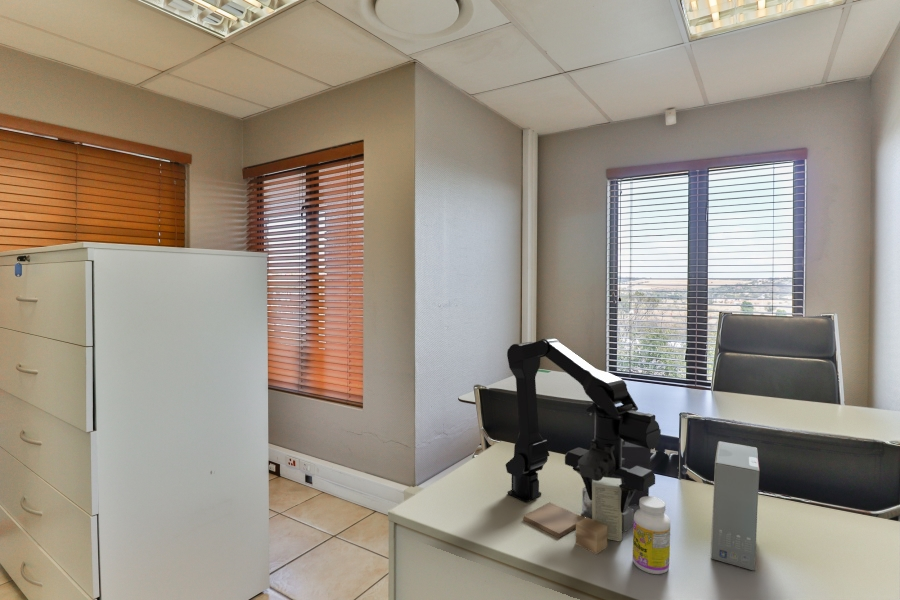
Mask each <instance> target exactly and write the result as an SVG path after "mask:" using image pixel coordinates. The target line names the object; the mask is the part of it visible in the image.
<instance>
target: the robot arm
mask: <svg viewBox="0 0 900 600" xmlns="http://www.w3.org/2000/svg"><path fill="white" fill-rule="evenodd" d="M506 356H507V357H506V358H507V362H508V367H509V370H510V372H511V373H512V374H513V377H514V378H515V385H516V386H515V387H516V400H517V417H518V429H519V430H518V432H519V433H518V435H517V436H518V437H517V439H516V442H515V443H514V448H513V457H512V458H511V459H510V460H509V461H508V462H506V463H505V469H506V473H508V474H509V475H510V476H511V489H510V490H507V495H509V496H512V497H513V498H516V499H517V500H520V501H522V502H524V503H528V502H530V501H532V500H534V499H536V498H539V497H540V496H542V492H541V491H540V480H539V473H538V472H539V471H542V470H543V467H544V465H546V463H547V462H548V459H549V458H548V457H550V453H549V441H548V440H547V439H544V438H543V437H542V435H541V434H540V429H539V416H538V415H539V413H538V400H537V387H536V384H537V383H536V377H537V374H538V372H539V369H540V366H541V359H542V358H547V359H548V360H549V361H550V362H552V363H553V364H554V365H556V366H557V367H558V368H560V369H561V370H562V371H563V372H565V373H566V374H568V375H569V376H570V377H571V378H572V379H574V380H576V382H578V383H579V384H580V385H581V387H582V389H583V390H584V394H586V395H587V397H588V398H589V399H590V400H591V401H592V404H591V405H589V406H588V407H586V409H585V411H586V412H587V413H589V414H590V413H591V414H593V415H594V438H593V439H591V441H590V446H589V449H587V448H584V447H583V448H582V447H575V448H574V449H571V450H569V451H567V452H566V453H565V455H564V464H565V465H566V466H569V467H572V470H573V471H574V472H576V473H577V474H578V475H579V476H580V477H581V479H582V482H583V484H584V487H586V490H587V493H588V496H589V499H590V500H592V479H593V480H595V481H600V480H601V479H602V478H603V476H607V477H610V476H611V475H612V474H615V475H618V476H621V477H624V483H622V484H621V485H619V487H620V489H621V491H622V492H621V513H624V512H625V511H626V509H627V507H629V506H630V505H629V503H630V501H631V499H632V497H633V495H634V493H635V491H636V490H638V491H645V490H646V489H648V488H649V489H650V488H651V487H653V486H655V484H656V475H655V473H654V471H653V470H651V469H650V468H649V469H646V468H642V467H639V466H635V467H633V468H631V469H627V468H624V467H622V464H624V463H625V459H624V458H622V446H623V445H625V442H628V443H631V444H635V445H638V446H641V447H645V448H648V449H651V450H654V449H655V448H657V447H658V444H659V442H660V439H661V432H662V429H661V427H660V425H659V422H658V421H656V415H655V414H653V413H644V412H640V411H639V408H638V405H637V404H636V403H635V401H634V399H633V397H632V396H631V394H630V392H629V391H628V388H627V386H628V384H627V383H626V382H625V381H624V380H623V379H622V378H620V377H619V376H616V375H614V374H613V373H610V372H607V371H605V370H601V369H598V368H595V367H594V366H593V365H591V364H589V362H587V361H585V360H584V359H583V358H581V357H580V356H578V355H577V354H575V352H573V351H572V350H570V349H569V348H568V347H566V346H565V345H563V344H562V343H561V342H560V341H559V340H558V339H556V338H555V337H549V338H541V339H540V340H537V341H534V342H532V341H529V342H520V343H513V344H511V345H510V346H509V348H508V349H507V352H506ZM618 404H621V405H618ZM616 405H617V406H616Z"/></svg>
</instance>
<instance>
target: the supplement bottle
mask: <svg viewBox="0 0 900 600" xmlns="http://www.w3.org/2000/svg"><path fill="white" fill-rule="evenodd" d="M638 507H639V509H637V510H636V511H635V512H634V513H633V527H632V528H633V530H632V532H633V534H632V561H633V564H634V565H635V566H636V567H637V568H638V569H640V570H641V571H643V572H645V573H647V574H652V575H661V574H662V575H663V574H665V573H667V572H668V571H669V568H670V555H671V554H670V553H671V552H670V550H671V549H670V548H671V519H670V517H669V516H668V515H667V514H665V512H666V510H667V509H666V503H665V502H664V500H662V499H661V498H659V497H654V496H651V495H650V496H645V497H642V498H640V500H639V505H638Z"/></svg>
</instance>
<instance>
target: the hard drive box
mask: <svg viewBox="0 0 900 600" xmlns="http://www.w3.org/2000/svg"><path fill="white" fill-rule="evenodd" d="M758 453H759V452H758V448H757V447H755V446H749V445H744V444H739V443H731V442H725V441H720V440H719V441H718V442H717V447H716V453H715V459H714V460H715V461H714V476H713V477H714V478H713V479H714V481H713V495H712V497H713V498H712V499H713V501H712V517H711V518H712V519H711V541H710V559H713V560H716V561H720V562H722V563H726V564H728V565H733V566H735V567H740V568H743V569H747V570H751V571H755V569H756V568H755V567H756V555H757V554H756V553H757V532H758V531H757V529H758V528H757V527H758V505H759V504H758V502H759V485H760V484H759V483H760V464H759V463H760V462H759V457H758Z"/></svg>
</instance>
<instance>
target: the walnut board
mask: <svg viewBox="0 0 900 600" xmlns="http://www.w3.org/2000/svg"><path fill="white" fill-rule="evenodd" d="M522 518H523V521H525V522H527V523H529V524H531V525H532V526H534V527H537V528H538V529H540V530H543V532H546V533H548V534H550V535H552V536H554V537H556V538H558V539H559V538H562V537H563V536H565V535H567V534H568V533H570V532H571V531H573V530H576V523H577V522H579V521H581V520H582V519H584V518H585V517H584V516H583V515H579V514H577V513H575V512H572V511H570V510H568V509H566V508H564V507H562V506H559V505H557V504H554V503H552V502H551V501H549V502H547V503H545V504H543V505H541V506H540V507H537V508H535V509H533V510H531V511H530V512H528V513H526V514H524V515H523V517H522Z"/></svg>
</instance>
